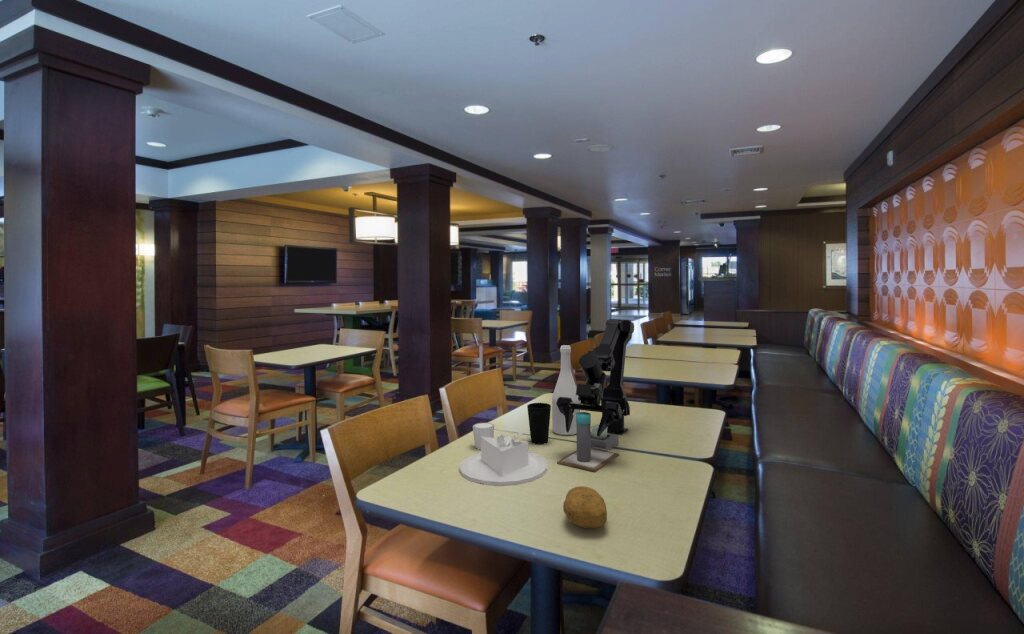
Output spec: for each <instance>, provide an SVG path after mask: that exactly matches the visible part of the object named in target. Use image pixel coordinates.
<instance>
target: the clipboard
mask: <svg viewBox="0 0 1024 634" xmlns="http://www.w3.org/2000/svg"><path fill="white" fill-rule="evenodd" d="M619 456H620V453H619V452H614V451H610V450H609V451H608V449H604V448H599V447H594V446H593V447H591V461H590V462H579V461H577V449H576V450H574V451H573V452H572V453H570V454H567V455H566V456H565V457H562V458H560V459H559V460H558V461H557V462H556V464H557V465H560V466H561V465H562V466H566V467H570V468H573V469H574V468H575V469H577V470H578V469H579V470H583V471H587V472H592V473H596V472H598V471H599V470H601V469H602V468H603V467H605V466H606V465H607V464H609V463H610V462H612V461H614V459H616V458H617V457H619Z"/></svg>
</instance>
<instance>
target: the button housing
mask: <svg viewBox="0 0 1024 634" xmlns="http://www.w3.org/2000/svg"><path fill="white" fill-rule="evenodd" d="M618 445H619V434H615V433H610V432H607V439H605V440H599V439H594V438H591V447H593V446H594V447H599V448H604V449H608V450H609V451H610V450H611V449H613V448H615V447H616V446H618Z"/></svg>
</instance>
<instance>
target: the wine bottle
mask: <svg viewBox="0 0 1024 634" xmlns="http://www.w3.org/2000/svg"><path fill="white" fill-rule="evenodd" d="M559 352H560V370H559V375H558V377H557V382H556V384H555V388H554V390H553V393H552V397H551V399H552V400H551V415H552V416H551V418H552V421H551V423H552V424H551V425H552V427H551V428H552V431H553V433H555V434H557V435H561V436H572V435H573V436H575V435H577V427H576V413H579V412H581V410H576V409H574V413H572V414H573V420H572V423H571V427H570V430H569V432H567V431H566V423H565V416H564V415H563V414H562V413H561V412H560V410H559V408H558V406H557V405H556V402H557V399H558V398H559V397H568V398H571V399H572V401H573V403H580V401H579V400H578V395H576V389H577V384H576V383H575V379H574V376H573V374H572V367H571V362H572V361H571V353H572V347H571V345H565V344H563V345H561V346H560V348H559Z"/></svg>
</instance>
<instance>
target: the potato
mask: <svg viewBox="0 0 1024 634" xmlns="http://www.w3.org/2000/svg"><path fill="white" fill-rule="evenodd" d="M562 509H563V513H564V514H565V516H566V518H567V519H568V520H569V521H570V522H571V523H572V524H574V525H576V526H578V528H584V529H597V528H600V527H602V526H604V525H605V524H606V523H607V519H608V511H607V505H606V502H605V499H604V497H603V496H602V495H600V493H599V492H597V490H596V489H594V488H592V487H588V486H584V485H583V486H581V485H580V486H575V487H572V488H571V489H569V490H568V491H567V493H566V495H565V500H564V501H563V505H562Z"/></svg>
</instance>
